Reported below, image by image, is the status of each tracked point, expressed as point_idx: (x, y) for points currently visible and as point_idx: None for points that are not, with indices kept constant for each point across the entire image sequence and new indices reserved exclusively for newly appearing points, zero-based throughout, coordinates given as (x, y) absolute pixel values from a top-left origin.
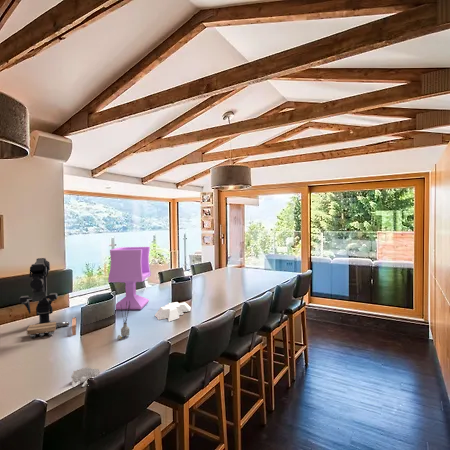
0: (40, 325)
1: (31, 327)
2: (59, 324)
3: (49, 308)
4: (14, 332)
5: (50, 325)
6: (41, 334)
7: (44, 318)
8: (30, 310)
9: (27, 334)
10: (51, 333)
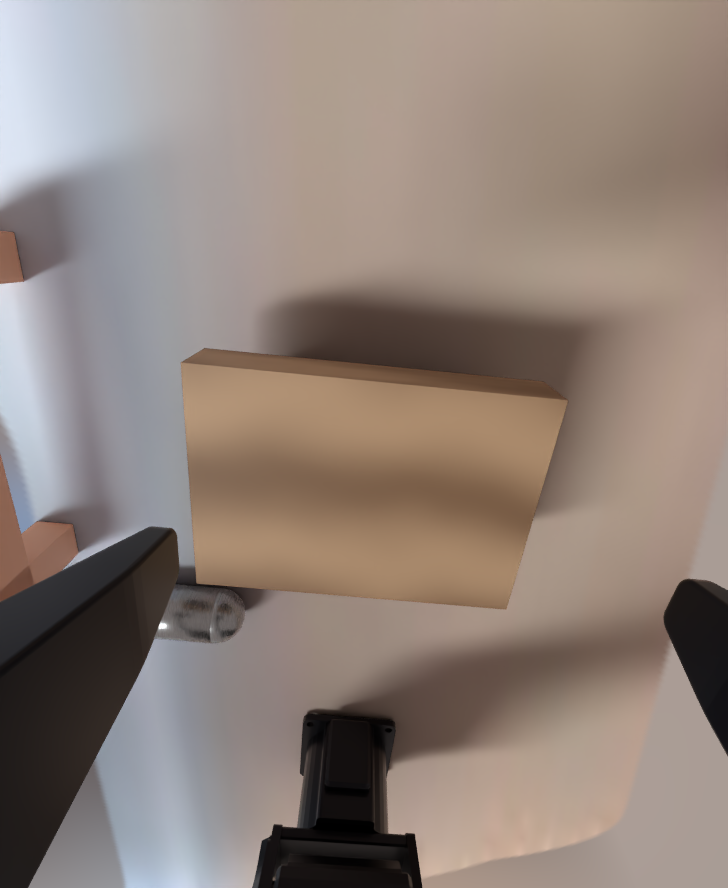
0: (384, 532)
1: (496, 509)
2: (195, 605)
3: (42, 583)
4: (590, 652)
5: (254, 459)
6: None
7: (341, 774)
8: (711, 714)
9: (541, 383)
10: None
